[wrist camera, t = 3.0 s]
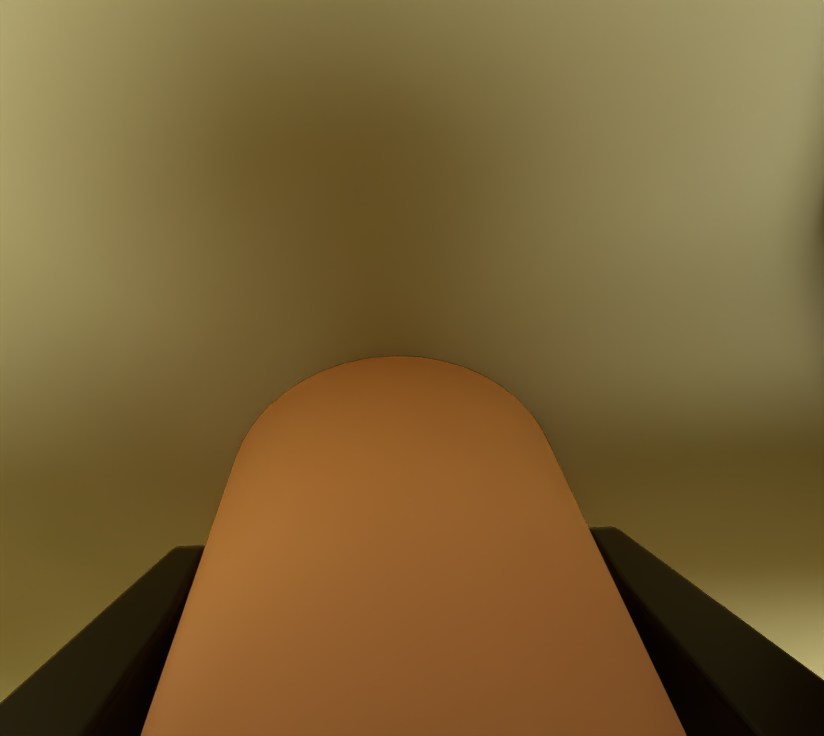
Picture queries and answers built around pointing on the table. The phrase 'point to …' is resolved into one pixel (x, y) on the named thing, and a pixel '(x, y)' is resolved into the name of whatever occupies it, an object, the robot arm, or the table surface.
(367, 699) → the cylinder
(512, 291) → the table surface
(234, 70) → the table surface
